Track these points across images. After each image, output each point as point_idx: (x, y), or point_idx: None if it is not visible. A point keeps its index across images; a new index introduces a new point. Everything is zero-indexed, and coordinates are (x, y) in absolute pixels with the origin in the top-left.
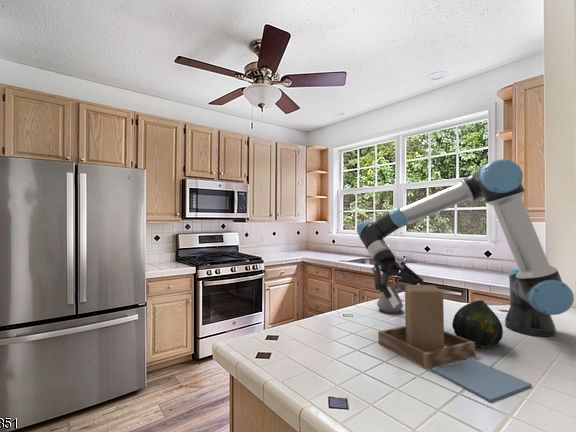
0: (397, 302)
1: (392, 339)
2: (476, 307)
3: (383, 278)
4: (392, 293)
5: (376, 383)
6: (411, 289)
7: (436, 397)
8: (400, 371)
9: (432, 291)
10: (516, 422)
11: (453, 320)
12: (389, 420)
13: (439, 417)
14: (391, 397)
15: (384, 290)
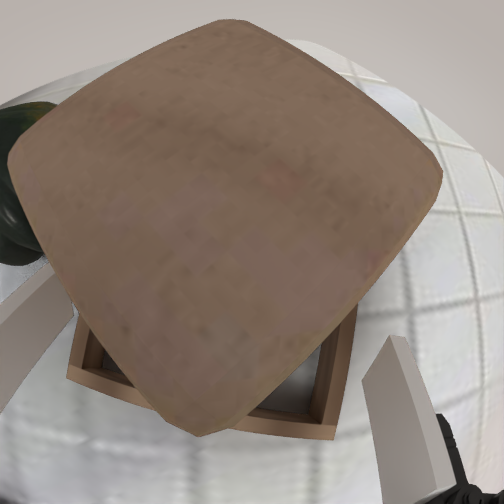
0: (402, 345)
1: (348, 352)
2: (5, 125)
3: None
4: (425, 416)
5: (477, 249)
6: (421, 177)
7: None
8: (414, 248)
9: (285, 44)
10: (362, 72)
11: (34, 235)
12: (496, 180)
13: (444, 136)
14: (476, 204)
15: (457, 476)
